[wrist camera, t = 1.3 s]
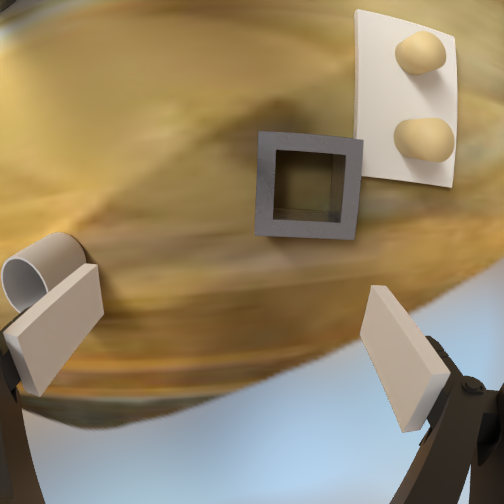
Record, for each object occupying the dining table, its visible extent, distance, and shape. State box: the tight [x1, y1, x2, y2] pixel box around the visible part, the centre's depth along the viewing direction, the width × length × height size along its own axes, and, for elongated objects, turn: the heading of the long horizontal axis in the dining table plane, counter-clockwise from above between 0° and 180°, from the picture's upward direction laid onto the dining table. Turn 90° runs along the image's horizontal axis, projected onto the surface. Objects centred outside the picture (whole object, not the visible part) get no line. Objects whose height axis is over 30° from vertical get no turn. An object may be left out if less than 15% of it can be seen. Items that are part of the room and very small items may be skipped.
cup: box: [1, 232, 87, 313], centre depth 31 cm, size 7×10×9 cm
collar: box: [255, 131, 364, 240], centre depth 29 cm, size 9×9×5 cm
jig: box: [353, 9, 457, 188], centre depth 25 cm, size 18×12×7 cm, turn 178°
